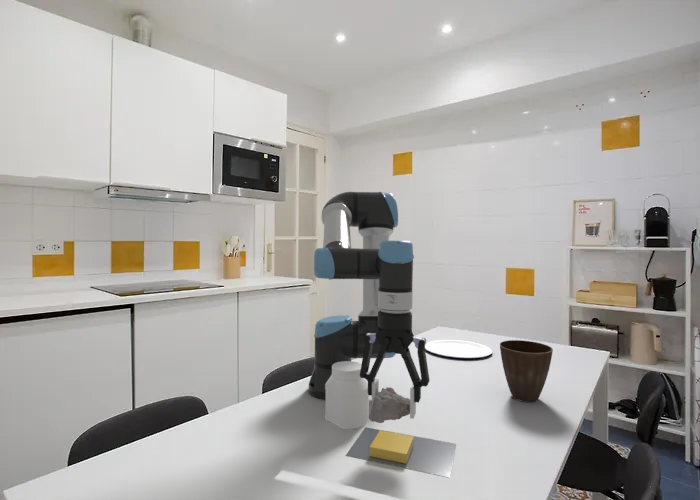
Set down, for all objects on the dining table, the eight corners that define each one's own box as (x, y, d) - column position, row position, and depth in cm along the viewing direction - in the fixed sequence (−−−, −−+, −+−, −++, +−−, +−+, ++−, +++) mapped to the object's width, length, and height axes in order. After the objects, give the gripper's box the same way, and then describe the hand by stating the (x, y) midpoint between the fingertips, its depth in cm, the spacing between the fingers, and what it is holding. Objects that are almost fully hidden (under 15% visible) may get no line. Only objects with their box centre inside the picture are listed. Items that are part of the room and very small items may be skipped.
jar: (375, 425, 102) (376, 367, 102) (348, 437, 96) (348, 375, 95) (345, 410, 110) (346, 357, 110) (318, 420, 104) (319, 364, 104)
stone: (394, 431, 80) (394, 402, 80) (361, 420, 85) (361, 393, 85) (416, 414, 88) (416, 388, 88) (385, 405, 93) (385, 380, 93)
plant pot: (542, 412, 111) (543, 356, 111) (490, 397, 121) (491, 346, 121) (557, 397, 122) (559, 346, 122) (509, 385, 132) (510, 337, 132)
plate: (502, 362, 159) (502, 357, 159) (430, 360, 159) (430, 356, 159) (479, 343, 188) (480, 339, 188) (418, 342, 189) (418, 338, 188)
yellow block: (379, 439, 92) (369, 456, 85) (379, 430, 92) (369, 446, 85) (413, 445, 89) (406, 464, 82) (413, 436, 89) (406, 454, 82)
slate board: (345, 461, 85) (345, 455, 85) (365, 431, 98) (365, 427, 98) (449, 483, 77) (450, 477, 77) (456, 448, 91) (456, 443, 91)
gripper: (345, 309, 87) (343, 412, 87) (440, 316, 80) (438, 428, 80) (356, 304, 94) (355, 399, 94) (444, 310, 87) (443, 413, 87)
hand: (393, 412), depth 87 cm, fingers closed on stone, 8 cm apart
